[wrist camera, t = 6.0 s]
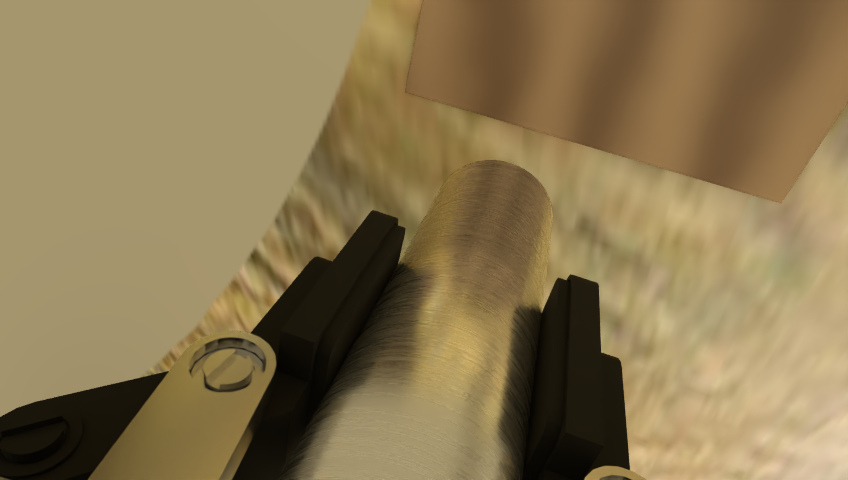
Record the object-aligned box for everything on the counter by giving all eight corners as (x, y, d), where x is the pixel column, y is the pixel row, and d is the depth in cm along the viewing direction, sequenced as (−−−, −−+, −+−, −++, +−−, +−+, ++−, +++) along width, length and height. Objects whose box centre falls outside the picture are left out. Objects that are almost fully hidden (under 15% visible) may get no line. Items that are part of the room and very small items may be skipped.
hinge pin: (591, 172, 13) (611, 1167, 3) (539, 294, 15) (435, 1114, 5) (439, 126, 14) (-78, 818, 3) (409, 251, 16) (45, 914, 5)
